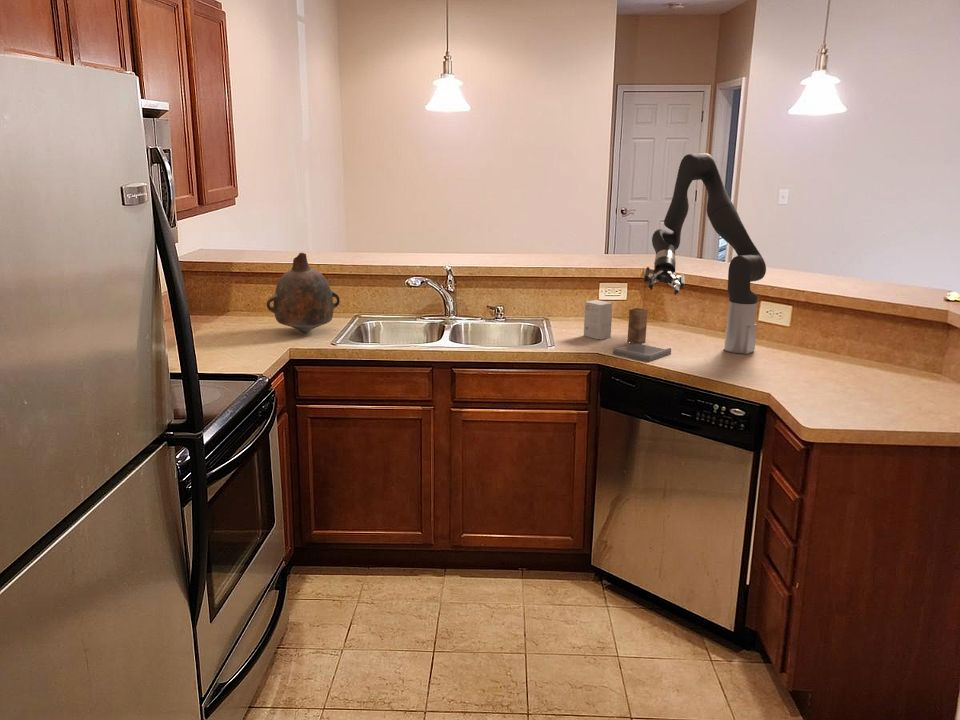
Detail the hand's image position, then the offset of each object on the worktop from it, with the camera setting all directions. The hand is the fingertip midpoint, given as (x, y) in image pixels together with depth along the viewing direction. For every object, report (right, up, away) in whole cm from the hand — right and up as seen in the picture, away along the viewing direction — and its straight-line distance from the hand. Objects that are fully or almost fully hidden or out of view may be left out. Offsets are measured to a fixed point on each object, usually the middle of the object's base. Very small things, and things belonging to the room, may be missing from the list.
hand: (663, 290), depth 276 cm
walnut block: (-8, -18, +7) cm, 21 cm away
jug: (-129, -14, +16) cm, 131 cm away
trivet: (-9, -22, -8) cm, 26 cm away
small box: (-21, -16, +15) cm, 30 cm away
